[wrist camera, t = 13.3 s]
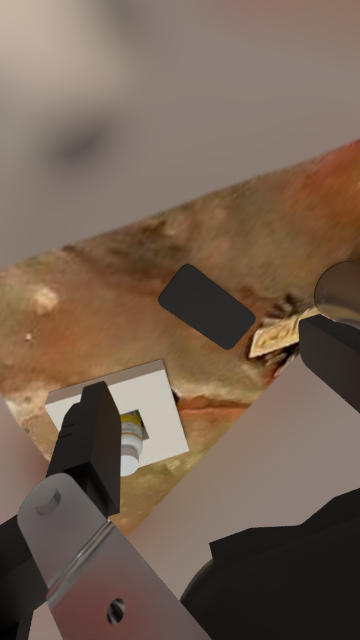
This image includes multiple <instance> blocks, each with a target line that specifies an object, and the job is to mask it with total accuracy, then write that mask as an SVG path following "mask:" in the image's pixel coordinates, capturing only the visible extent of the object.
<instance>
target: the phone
mask: <svg viewBox="0 0 360 640" xmlns="http://www.w3.org/2000/svg"><path fill="white" fill-rule="evenodd" d="M159 303H160V305H161V306H162V307H163V308H165V309H166V310H168V311H169V312H171V313H172V314H174V315H175V316H176V317H178V318H179V319H181V320H182V321H184V322H185V323H187V324H188V325H190V326H191V327H193V328H194V329H196V330H197V331H199V332H200V333H202V334H203V335H204V336H206V337H207V338H209V339H210V340H212V341H213V342H215V343H216V344H218V345H219V346H221V347H222V348H224V349H227V350H228V349H231V348H233V347H234V346H235V344H236V343H237V342H238V341H239V340H240V339H241V338H242V336H243V335H244V334H245V333H246V332H247V331H248V330H249V328H250V327H251V326H252V325H253V324H254V322H255V319H256V318H255V315H254V314H253V313H252V312H250V311H249V310H248V309H247V308H246V307H244V306H243V305H242V304H241V303H240V302H238V301H237V300H236V299H235V298H233V297H232V296H230V295H229V294H228V293H226V292H225V291H224V290H223V289H221V288H220V287H219V286H218V285H216V284H215V283H214V282H212V281H211V280H210V279H209V278H207V277H206V276H205V275H204V274H202V273H201V272H200V271H199V270H197V269H196V268H195V267H193V266H192V265H189V264H186V265H184V266H182V267H181V268H180V270H179V271H178V272H177V274H176V275H175V276H174V277H173V279H172V280H171V281H170V283H169V284H168V285H167V287H166V288H165V289H164V291H163V292H162V293H161V295H160V296H159Z"/></svg>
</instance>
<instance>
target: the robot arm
mask: <svg viewBox="0 0 360 640" xmlns="http://www.w3.org/2000/svg"><path fill="white" fill-rule="evenodd" d="M314 298H315V304H316V306H317V308H318V310H319V311H320V312H321V313H323V314H324V315H326V316H328V317H330V318H332V319H334V320H336V321H338V322H334V321H332V320H330V319H329V318H327V317H325V316H323V315H321V314H317V315H314V316H311V317H308V318H304V319H301V320H300V321H299V324H298V327H299V345H300V355H301V358H302V360H303V362H304V363H305V365H306V366H307V367H308V368H309V369H310V370H311V371H312V372H313V373H315V374H316V375H317V376H318V377H319V378H320V379H321V380H323V381H324V382H325V383H326V384H327V385H328V386H329V387H331V388H332V389H333V390H334V391H335V392H336V393H338V394H339V395H340V396H341V397H342V398H343V399H345V401H346V402H348V403H349V404H350V405H351V406H352V407H353V408H354V409H356V410H357V411H358V412H359V413H360V264H358V263H354V262H342V263H338V264H336V265H334V266H333V267H331V268H330V269H329V270H327V271H326V272H325V273H324V275H323V276H322V277H321V279H320V280H319V282H318V284H317V287H316V290H315V297H314ZM121 437H122V423H121V417H120V413H119V411H118V408H117V406H116V404H115V402H114V399H113V397H112V395H111V393H110V390H109V388H108V386H107V384H106V382H105V381H100V382H97V383H94V384H91V385H88V386H84V388H83V391H82V395H81V399H80V402H78V403H74V404H73V405H72V406H71V407H70V409H69V410H68V411H67V413H66V414H65V416H64V419H63V422H62V425H61V430H60V432H59V435H58V440H57V442H56V445H55V448H54V451H53V455H52V458H51V461H50V465H49V468H48V471H47V474H46V478H45V479H44V480H42V481H41V482H40V483H38V484H37V485H36V486H35V487H34V488H33V489H32V490H31V491H30V492H29V493H28V495H27V496H26V497H25V499H24V501H23V502H22V504H21V506H20V508H19V511H18V514H17V515H15V516H14V517H12V518H11V519H9V520H8V521H6V522H5V523H3V524H1V525H0V640H28V637H29V631H30V626H31V621H32V616H33V611H34V610H35V609H37V608H38V607H39V606H40V605H42V604H43V603H44V602H46V601H47V603H48V606H49V609H50V611H51V613H52V615H53V618H54V620H55V622H56V625H57V627H58V629H59V631H60V634H61V636H62V638H63V640H360V488H358V489H356V490H353V491H350V492H347V493H345V494H342V495H339V496H336V497H334V498H333V499H332V500H330V501H329V502H328V503H327V504H326V505H324V506H323V507H322V508H321V509H320V510H318V511H317V512H316V513H315V514H313V515H312V516H311V517H310V518H309V519H307V520H306V521H305V522H304V523H302V524H300V525H297V526H280V527H258V528H249V529H246V530H243V531H241V532H238V533H235V534H233V535H230V536H227V537H225V538H222V539H219V540H216V541H213V542H211V543H209V545H210V549H211V553H212V557H213V558H212V559H211V560H210V561H209V562H207V563H206V564H205V565H204V566H203V567H202V568H201V569H200V570H199V571H198V572H197V573H196V575H195V576H194V577H193V579H192V580H191V582H190V583H189V584H188V586H187V588H186V589H185V591H184V593H183V595H182V596H181V599H180V601H179V600H178V599H177V598H176V596H175V595H174V594H173V593H172V592H171V591H170V589H169V588H168V587H167V586H166V585H165V583H164V582H163V581H162V580H161V579H160V578H159V577H158V575H157V574H156V573H155V572H154V570H153V569H152V568H151V567H150V566H149V565H148V563H147V562H146V561H145V560H144V559H143V557H142V556H141V555H140V554H139V553H138V552H137V551H136V549H135V548H134V547H133V546H132V544H131V543H130V542H129V541H128V540H127V539H126V537H125V536H124V535H123V534H122V533H121V531H120V530H119V529H118V528H117V527H116V526H115V525H114V524H113V523H112V522H111V521H110V522H109V521H108V516H111V515H114V514H117V513H120V476H121Z"/></svg>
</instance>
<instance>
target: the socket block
mask: <svg viewBox="0 0 360 640" xmlns="http://www.w3.org/2000/svg"><path fill="white" fill-rule="evenodd" d="M100 381H105V382H106V384H107V386H108V388H109V390H110V393H111V395H112V397H113V399H114V402H115V404H116V406H117V408H118V411H119V413H120V415H121V414H124V413H127V412H130V411H134V410H137V409H138V410H139V412H140V415H141V418H142V420H143V423H144V425H145V426H144V427H141V428H142V443H143V449H142V452H141V455H140V456H139V466H138V468H139V467H142V466H145V465H148V464H151V463H154V462H157V461H160V460H163V459H166V458H169V457H172V456H175V455H178V454H181V453H185V452H188V451H189V448H188V444H187V441H186V437H185V434H184V430H183V427H182V424H181V420H180V417H179V414H178V410H177V407H176V404H175V400H174V397H173V394H172V390H171V387H170V384H169V381H168V377H167V374H166V371H165V367H164V364H163V361H162V359H160V360H156V361H153V362H150V363H146V364H143V365H140V366H136V367H133V368H130V369H126V370H123V371H119V372H116V373H113V374H109V375H106V376H103V377H99V378H96V379H93V380H89V381H86V382H83V383H79V384H76V385H72V386H69V387H66V388H62V389H59V390H56V391H52V392H49V395H48V397H47V399H46V402H45V404H44V406H45V408H46V410H47V412H48V413H49V415H50V417H51V418H52V420H53V422H54V424H55V425H56V427H57V429H58V431H59V432H60V430H61V425H62V422H63V419H64V416H65V414H66V413H67V411H68V410H69V409H70V407H71V406H72V405H73V404H74V403H78V402H80V399H81V395H82V391H83V388H84V386H88V385H91V384H94V383H97V382H100Z"/></svg>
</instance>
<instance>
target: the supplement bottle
mask: <svg viewBox="0 0 360 640" xmlns="http://www.w3.org/2000/svg"><path fill="white" fill-rule="evenodd" d="M120 417H121V423H122V437H121V476H127V475H130V474H132V473H134V472H135V471H136V470H137V468H138V466H139V456H140V455H141V452H142V449H143V443H142V428H141V415H140V412H139V411H138V410H134V411H130V412H127V413H124V414H121V415H120Z"/></svg>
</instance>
